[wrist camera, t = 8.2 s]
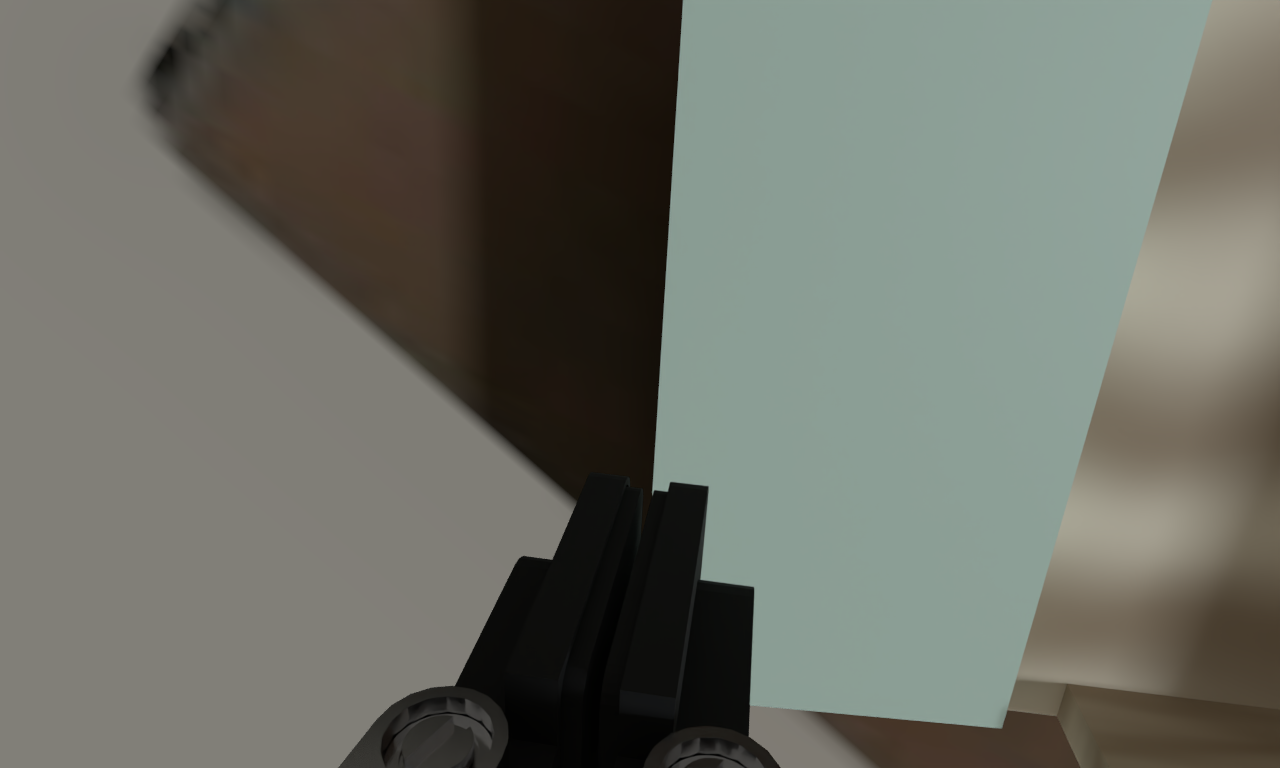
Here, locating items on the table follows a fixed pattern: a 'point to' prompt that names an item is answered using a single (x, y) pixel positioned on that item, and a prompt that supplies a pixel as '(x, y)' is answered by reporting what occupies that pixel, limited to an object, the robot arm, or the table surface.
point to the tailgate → (902, 318)
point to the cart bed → (1183, 455)
